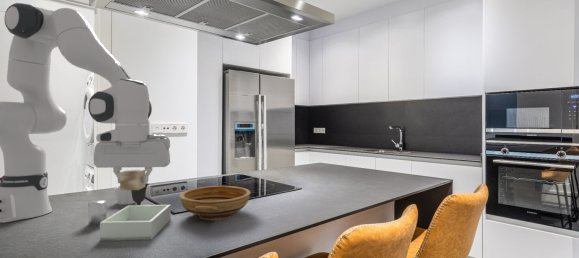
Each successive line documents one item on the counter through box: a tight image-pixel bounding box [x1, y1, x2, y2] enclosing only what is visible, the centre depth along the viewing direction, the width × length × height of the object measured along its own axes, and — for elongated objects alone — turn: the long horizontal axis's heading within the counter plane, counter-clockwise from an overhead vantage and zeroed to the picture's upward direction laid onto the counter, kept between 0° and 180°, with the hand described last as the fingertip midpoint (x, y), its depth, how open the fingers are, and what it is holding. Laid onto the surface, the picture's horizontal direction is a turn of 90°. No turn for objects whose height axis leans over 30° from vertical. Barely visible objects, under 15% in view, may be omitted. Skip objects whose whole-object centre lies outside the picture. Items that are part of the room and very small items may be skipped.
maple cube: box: [119, 169, 146, 190], centre depth 89 cm, size 5×5×5 cm
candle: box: [113, 185, 137, 206], centre depth 124 cm, size 9×9×6 cm
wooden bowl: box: [178, 185, 252, 221], centre depth 108 cm, size 30×24×8 cm
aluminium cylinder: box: [87, 199, 108, 227], centre depth 98 cm, size 5×5×7 cm
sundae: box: [131, 182, 150, 205], centre depth 111 cm, size 7×7×15 cm
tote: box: [99, 204, 172, 242], centre depth 93 cm, size 18×14×5 cm
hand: (133, 182), depth 89 cm, fingers closed on maple cube, 5 cm apart
